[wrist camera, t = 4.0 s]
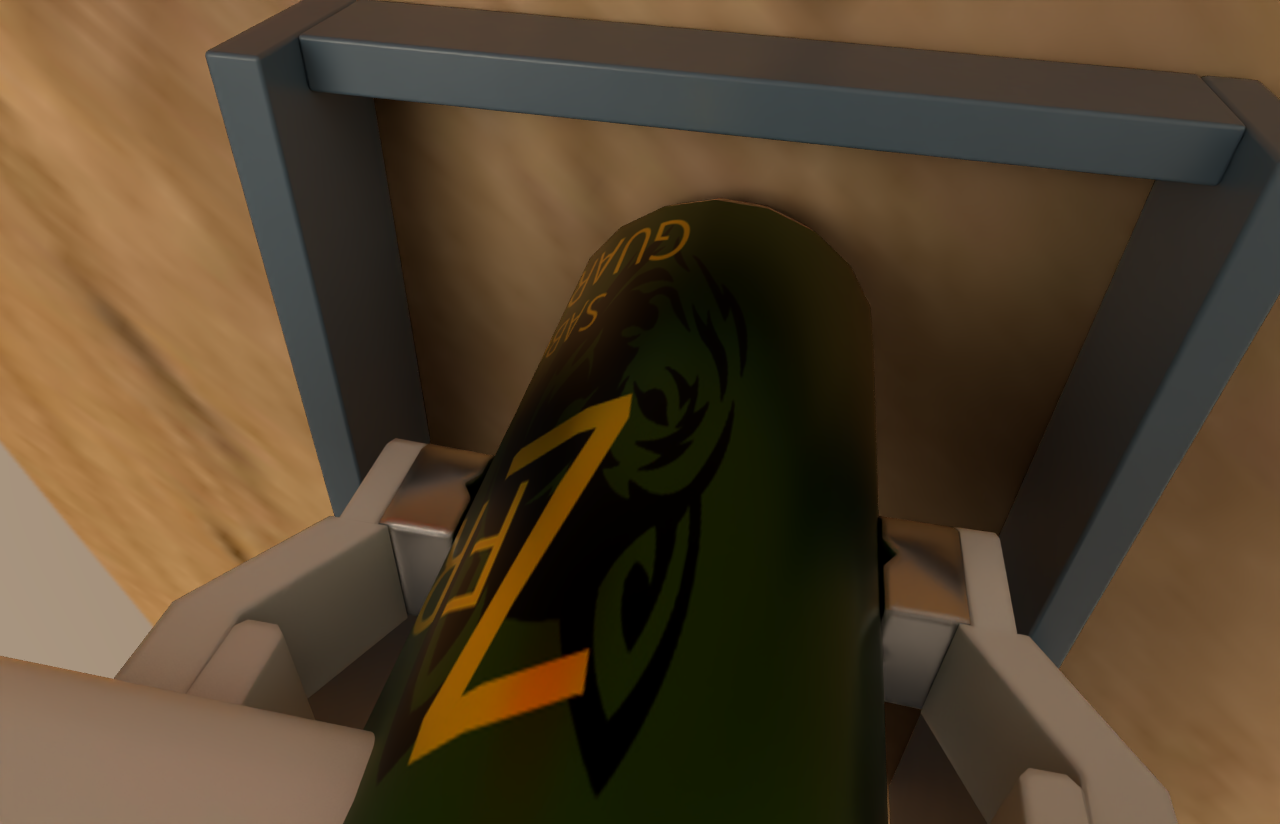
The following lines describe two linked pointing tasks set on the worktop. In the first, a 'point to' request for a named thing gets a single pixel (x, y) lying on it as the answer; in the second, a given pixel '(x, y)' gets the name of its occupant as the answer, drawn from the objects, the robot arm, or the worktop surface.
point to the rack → (789, 111)
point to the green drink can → (663, 558)
